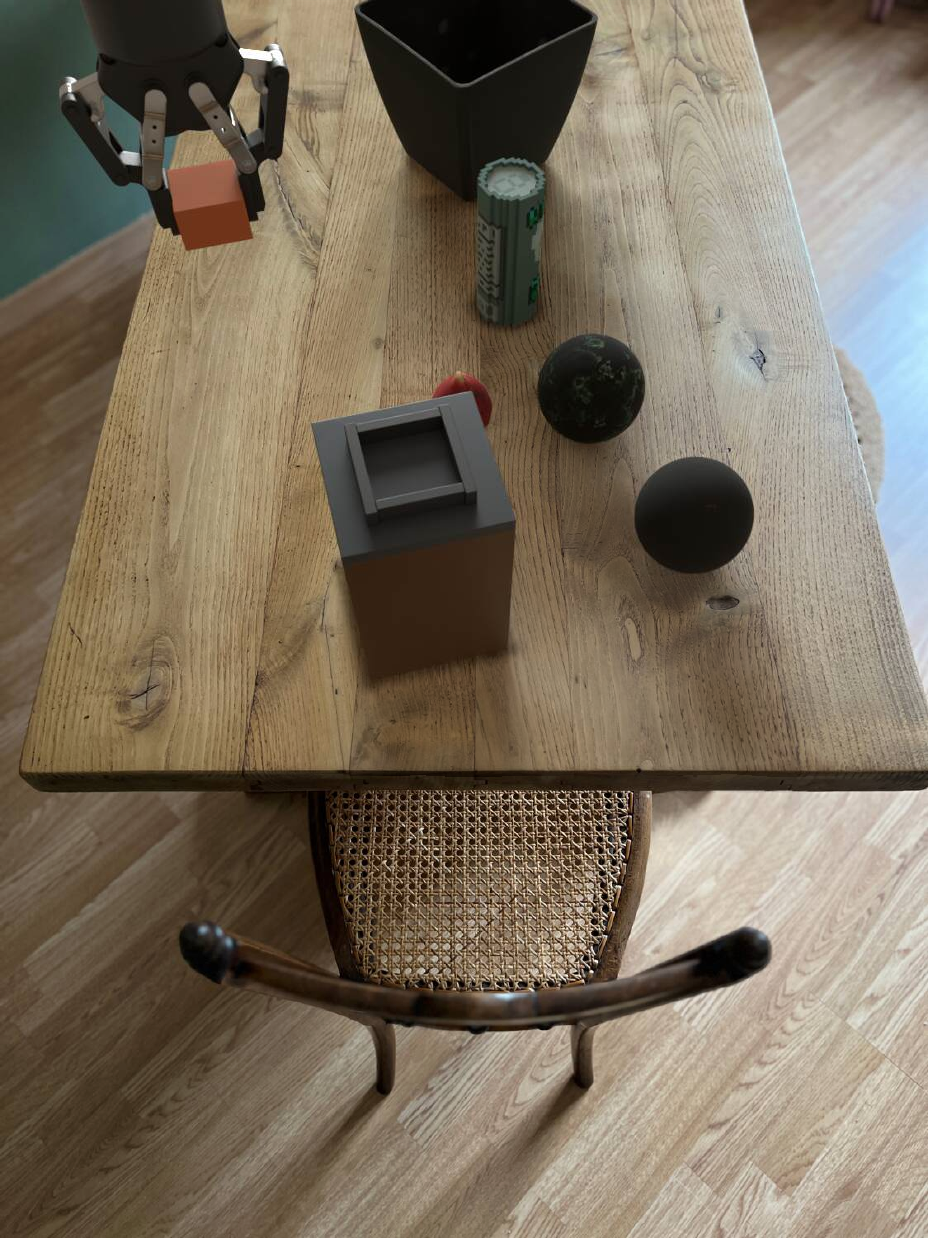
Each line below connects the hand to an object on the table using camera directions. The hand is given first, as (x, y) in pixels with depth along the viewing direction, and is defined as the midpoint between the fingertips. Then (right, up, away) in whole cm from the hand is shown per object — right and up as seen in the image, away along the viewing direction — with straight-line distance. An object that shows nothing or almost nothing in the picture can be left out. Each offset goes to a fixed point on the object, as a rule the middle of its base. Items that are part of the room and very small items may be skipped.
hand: (214, 219), depth 63 cm
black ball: (+37, -21, +20) cm, 47 cm away
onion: (+17, -9, +27) cm, 33 cm away
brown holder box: (+14, -26, +17) cm, 34 cm away
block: (0, 0, 0) cm, 0 cm away
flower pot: (+19, +28, +48) cm, 58 cm away
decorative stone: (+29, -8, +27) cm, 41 cm away
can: (+22, +6, +36) cm, 42 cm away
